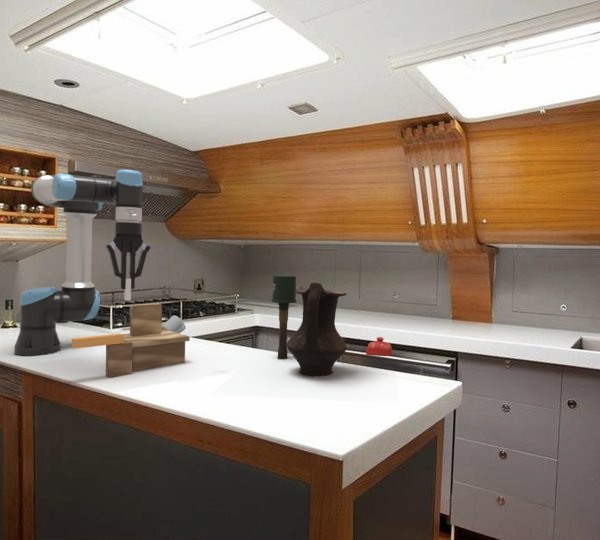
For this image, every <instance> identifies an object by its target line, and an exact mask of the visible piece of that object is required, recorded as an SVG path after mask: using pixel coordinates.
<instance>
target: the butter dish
mask: <svg viewBox="0 0 600 540" xmlns="http://www.w3.org/2000/svg"><path fill="white" fill-rule="evenodd" d="M384 339H385V338H384V337H382V336H378V337H376V340H375V341H371V342H369V343H368V345H367V347H366V351H365V355H366V356H376V357H390V356H392V354H393V348H392V345H391V344H390V343H389V342H386V341H384Z"/></svg>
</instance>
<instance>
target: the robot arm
mask: <svg viewBox="0 0 600 540" xmlns="http://www.w3.org/2000/svg"><path fill="white" fill-rule="evenodd" d="M115 175H116V176H115V179H110V178H101V177H92V176H91V177H89V176H84V175H82V176H81V175H76V174H75V175H74V174H70V173H63V174H62V173H56V174H50V175H48V174H47V175H42V176H39V177H37V178H35V179H34V180H33V182H32V184H31V187H30V191H31V194H32V197H33V198H34V199H35V200H36V201H37V202H39V203H40V204H43V205H45V206H48V207H52V208H62V210H63V215H65V216H66V217H67V235H66V237H67V238H66V269H65V270H66V274H65V275H66V276H65V277H66V278H65V279H66V280H65V282H64V283H62V284H61V290H58V289H57V288H56V287H55V286H47V287H34V288H30V289H26V290H24V291H22V292H21V294H20V297H19V299H20V301H19V333H18V336H17V339H16V342H15V343H14V348H13V351H14V354H16V355H19V356H40V355H41V354H44V355H49V354H48V353H51V354H55V353H54V352H56V353H58V352H57V351H59V352H61V351H62V346H61V345H62V343H61V340H60V338H59V336H58V332H57V328H56V327H57V325H56V324H57V322H58V323H59V322H69V321H70V322H72V321H88V320H92V319H93V318H95V317H96V315H98V312H99V309H100V303H101V297H100V296H101V295H100V292H99V290H98V289H96V286H95V284H94V283H93V282H92V279H91V276H92V248H93V247H92V246H93V245H92V244H93V242H92V239H93V219H94V218H95V217H96V216H97V215H98V213H97V212H98V211H101V210H102V208H103V205H104V204H107V205H113V206H115V221H116V222H115V224H114V225H115V228H114V229H115V231H114V234H115V236H114V237H113V241H112V242H110V243H109V244H106V245H105V248H106V249H107V251H108V253H109V257H110V258H109V259H110V261H111V266H112V271H113V274H114V276H115V277H117V278H120V289H122V290H124V291H123V292H124V293H123V299H124V301H132V290H134V289H135V286H136V285H135V284H136V283H135V282H136V281H135V280H136V278H138V277H141V276H142V272H143V269H144V265H145V262H146V257H147V255H148V252H150V250H151V246H150V245H148V244H147V243H145V242H144V240H143V237H142V235H143V234H142V231H143V230H142V228H143V227H142V223H141V222H142V220H143V219H142V218H143V214H142V213H143V212H142V211H143V210H142V209H143V185H144V182H143V174H142V172H140V171H139V170H132V169H118V170H117V171H116V174H115ZM115 246H116V247H115ZM116 248H117V249H118V251H119V252H120V269H119V266H118V265H119V264H118V261H117V257H116V253H115V249H116ZM139 249H141V252H140V256H139V260H138V262H137V263H138V264H137V268H136V255H137V253H136V252H137V251H138V250H139ZM128 253H129V278H128V277H127V256H128ZM41 356H42V355H41Z"/></svg>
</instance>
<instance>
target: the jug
mask: <svg viewBox="0 0 600 540" xmlns="http://www.w3.org/2000/svg"><path fill="white" fill-rule="evenodd" d="M295 292H296V294H299V295H301V298H302V320H301V324H300V325H299V328H297V330H296V331H295V332H294V333H293V334H292V336H290V338H289V340H287V351H288V352H290V353H291V355H292V356H293V358H294V359H295V360H296V362H297V363H298V366H300V368H299V369H300V370H299V371H298V373H299V374H300V375H302V376H304V377H305V376H306V377H310V378H316V377H317V378H319V377H320V378H321V377H329V376H331V375H332V374H333V373H334V372H333V366H334V365H335V363H336V362H337V361H338V360H339V358H340V357H341V356H343V354H344V353H346V351H347V344H346V342H345V341H344V338H343V337H342V336H341V335H340V333H339V332H338V330H337V328H336V322H335V321H336V313H337V312H336V311H337V306H338V303H339V302H338V301H339V298H340V297H344V296H347V292H343V291H342V292H340V291H331V290H325V288H324V286H323V285H322V284H321V282H318V281H312V282H311V283H310V284H309V287H308V288H296V290H295Z"/></svg>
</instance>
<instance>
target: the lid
mask: <svg viewBox="0 0 600 540" xmlns="http://www.w3.org/2000/svg"><path fill="white" fill-rule="evenodd" d="M162 309H163V304H162V303H145V304H143V303H141V304H130V305H129V333H122V334H123V335H124V342H132V348H133V347H141V346H150V345H158V344H167V343H176V342H184V341H185V342H190V336H189V335H187V334H183V333H180V334H179V333H175V332H172V331H168V330H162V325H163V324H162V323H163V322H162V318H163V313H162V312H163V310H162Z"/></svg>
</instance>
